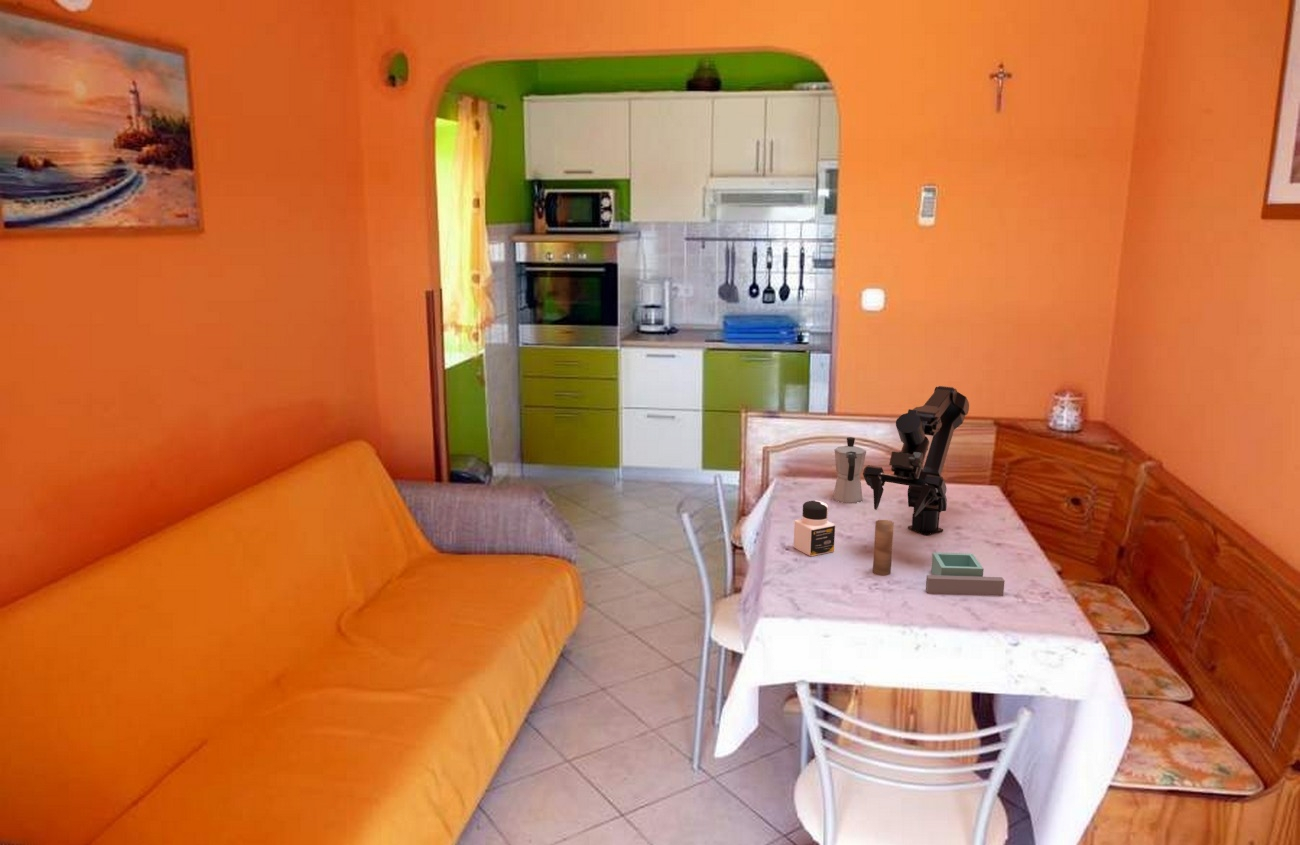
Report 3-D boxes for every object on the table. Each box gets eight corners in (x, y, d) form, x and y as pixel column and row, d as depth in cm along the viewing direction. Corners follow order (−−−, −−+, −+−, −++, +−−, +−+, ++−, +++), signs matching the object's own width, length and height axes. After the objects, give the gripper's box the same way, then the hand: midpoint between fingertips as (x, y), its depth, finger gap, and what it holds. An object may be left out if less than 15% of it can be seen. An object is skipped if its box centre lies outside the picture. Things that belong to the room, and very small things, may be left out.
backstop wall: (925, 589, 206) (926, 574, 205) (1000, 592, 205) (1001, 577, 204) (927, 593, 204) (928, 578, 203) (1003, 596, 203) (1004, 580, 202)
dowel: (881, 567, 218) (884, 518, 215) (894, 573, 215) (897, 523, 212) (868, 571, 216) (871, 521, 213) (881, 577, 213) (884, 526, 210)
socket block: (931, 571, 216) (932, 552, 215) (971, 572, 215) (972, 553, 214) (940, 586, 207) (941, 567, 206) (981, 588, 206) (983, 568, 205)
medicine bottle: (810, 557, 224) (812, 509, 222) (792, 547, 231) (794, 500, 228) (834, 552, 228) (836, 504, 225) (816, 542, 234) (818, 496, 231)
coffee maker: (830, 491, 275) (833, 431, 271) (861, 492, 274) (865, 432, 269) (833, 507, 260) (836, 444, 256) (865, 509, 259) (869, 446, 255)
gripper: (867, 432, 223) (848, 488, 217) (946, 443, 213) (929, 502, 207) (877, 457, 231) (858, 511, 225) (953, 468, 222) (936, 526, 215)
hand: (894, 512), depth 218 cm, fingers open, 9 cm apart
